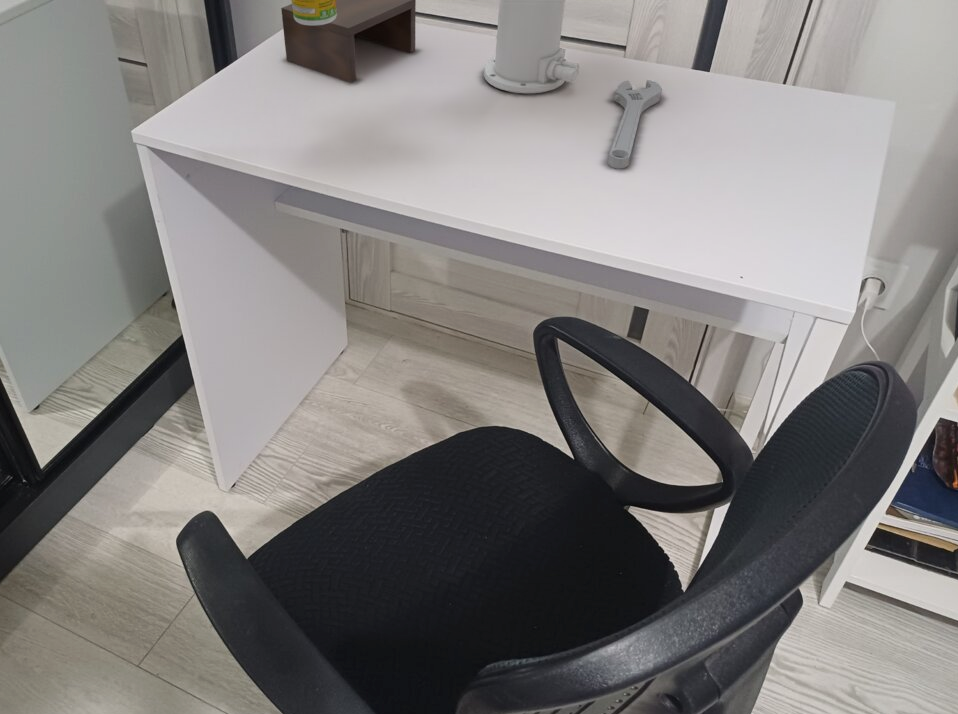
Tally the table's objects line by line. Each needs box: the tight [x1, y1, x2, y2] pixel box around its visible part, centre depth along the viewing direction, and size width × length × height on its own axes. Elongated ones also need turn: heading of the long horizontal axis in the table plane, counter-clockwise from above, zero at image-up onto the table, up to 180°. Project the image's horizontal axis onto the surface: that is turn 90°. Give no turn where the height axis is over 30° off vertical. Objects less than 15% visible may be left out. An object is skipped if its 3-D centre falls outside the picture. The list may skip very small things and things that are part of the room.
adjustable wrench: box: [607, 79, 663, 169], centre depth 115 cm, size 25×6×2 cm, turn 157°
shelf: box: [280, 0, 417, 84], centre depth 131 cm, size 14×16×8 cm
